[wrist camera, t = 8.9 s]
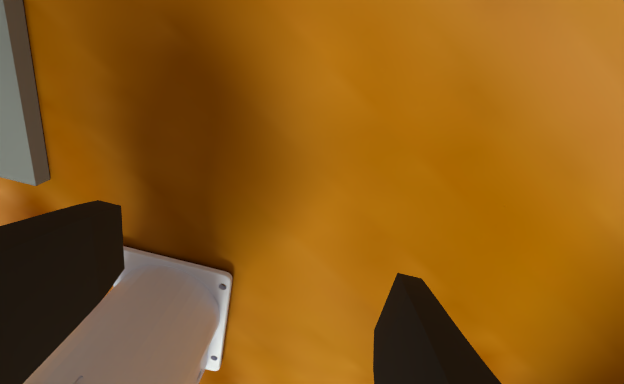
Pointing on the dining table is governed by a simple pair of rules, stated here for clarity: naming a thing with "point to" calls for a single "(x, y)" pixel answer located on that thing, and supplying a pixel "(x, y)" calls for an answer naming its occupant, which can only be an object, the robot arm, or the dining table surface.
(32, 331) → the robot arm
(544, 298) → the dining table surface
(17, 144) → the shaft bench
